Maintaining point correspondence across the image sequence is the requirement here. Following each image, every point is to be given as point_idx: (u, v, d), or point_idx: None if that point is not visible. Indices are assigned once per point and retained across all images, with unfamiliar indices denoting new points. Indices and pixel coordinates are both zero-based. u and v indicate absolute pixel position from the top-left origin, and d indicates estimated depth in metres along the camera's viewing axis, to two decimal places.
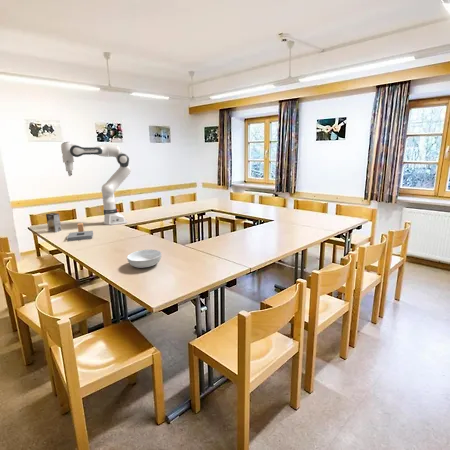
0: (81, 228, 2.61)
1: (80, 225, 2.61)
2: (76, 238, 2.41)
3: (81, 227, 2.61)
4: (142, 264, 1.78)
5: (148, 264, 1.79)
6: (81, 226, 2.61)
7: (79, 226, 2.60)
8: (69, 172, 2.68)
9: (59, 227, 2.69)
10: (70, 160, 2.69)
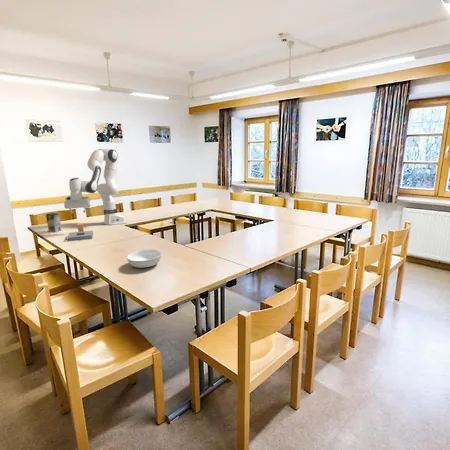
0: (81, 228, 2.61)
1: (80, 225, 2.61)
2: (76, 238, 2.41)
3: (81, 227, 2.61)
4: (142, 264, 1.78)
5: (148, 264, 1.79)
6: (81, 226, 2.61)
7: (79, 226, 2.60)
8: None
9: (59, 227, 2.69)
10: None
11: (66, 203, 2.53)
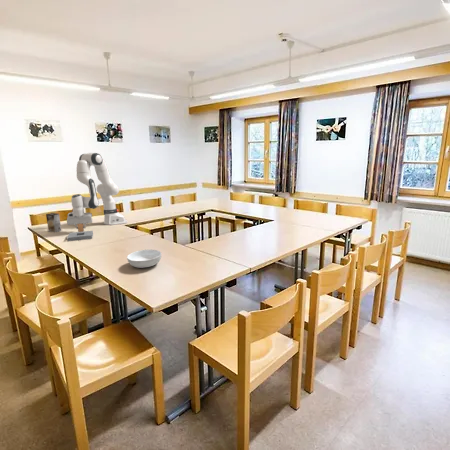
0: (81, 228, 2.61)
1: (80, 225, 2.60)
2: (76, 238, 2.41)
3: (81, 227, 2.61)
4: (142, 264, 1.78)
5: (148, 264, 1.79)
6: (81, 226, 2.61)
7: (79, 226, 2.60)
8: (85, 224, 2.64)
9: (59, 227, 2.69)
10: None
11: (69, 219, 2.57)
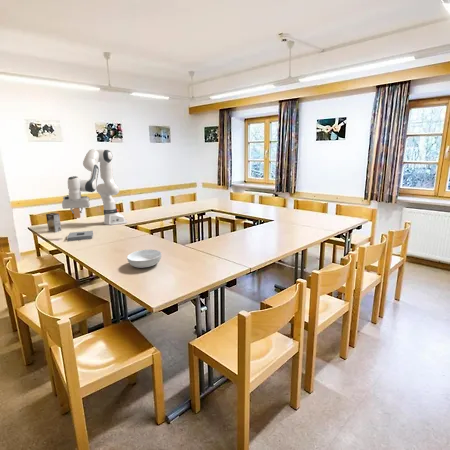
0: (78, 212, 2.45)
1: (77, 209, 2.44)
2: (76, 238, 2.41)
3: (77, 211, 2.44)
4: (142, 264, 1.78)
5: (148, 264, 1.79)
6: (77, 210, 2.44)
7: (75, 210, 2.44)
8: (82, 208, 2.48)
9: (59, 227, 2.69)
10: None
11: (64, 203, 2.40)
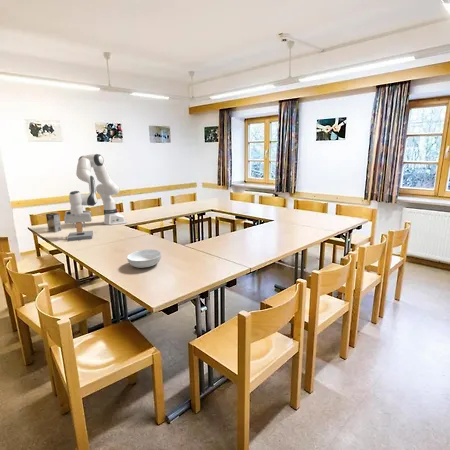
0: (80, 227, 2.45)
1: (79, 224, 2.44)
2: (76, 238, 2.41)
3: (79, 226, 2.45)
4: (142, 264, 1.78)
5: (148, 264, 1.79)
6: (79, 225, 2.44)
7: (77, 225, 2.44)
8: (84, 223, 2.48)
9: (59, 227, 2.69)
10: None
11: (66, 218, 2.40)
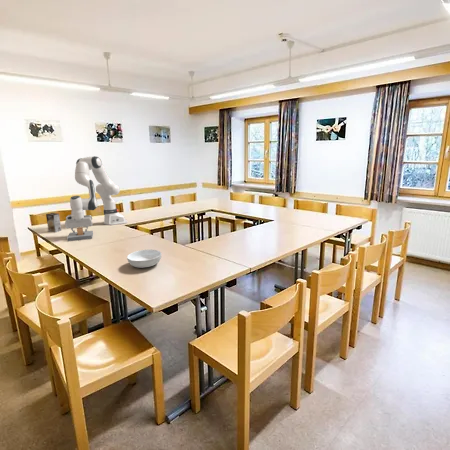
0: (81, 233, 2.46)
1: (80, 230, 2.45)
2: (76, 238, 2.41)
3: (81, 232, 2.46)
4: (142, 264, 1.78)
5: (148, 264, 1.79)
6: (81, 231, 2.46)
7: (78, 231, 2.45)
8: None
9: (59, 227, 2.69)
10: None
11: (67, 223, 2.41)
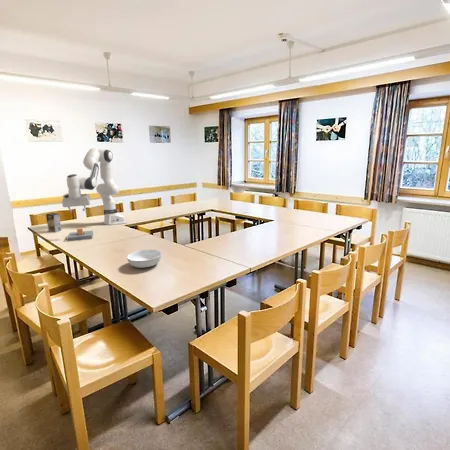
0: (81, 233, 2.46)
1: (80, 230, 2.45)
2: (76, 238, 2.41)
3: (81, 232, 2.46)
4: (142, 264, 1.78)
5: (148, 264, 1.79)
6: (81, 231, 2.46)
7: (78, 231, 2.45)
8: (85, 206, 2.48)
9: (59, 227, 2.69)
10: None
11: (64, 201, 2.39)
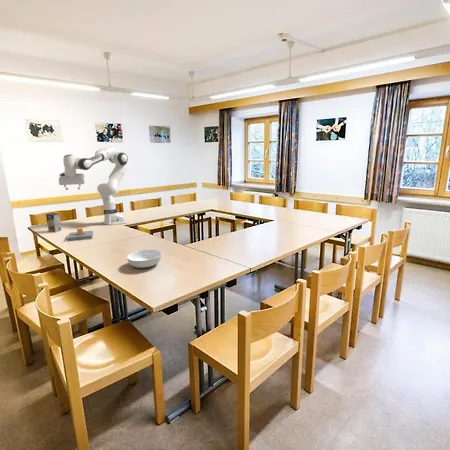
0: (81, 233, 2.46)
1: (80, 230, 2.45)
2: (76, 238, 2.41)
3: (81, 232, 2.46)
4: (142, 264, 1.78)
5: (148, 264, 1.79)
6: (81, 231, 2.46)
7: (78, 231, 2.45)
8: (80, 185, 2.64)
9: (59, 227, 2.69)
10: None
11: (60, 179, 2.55)
